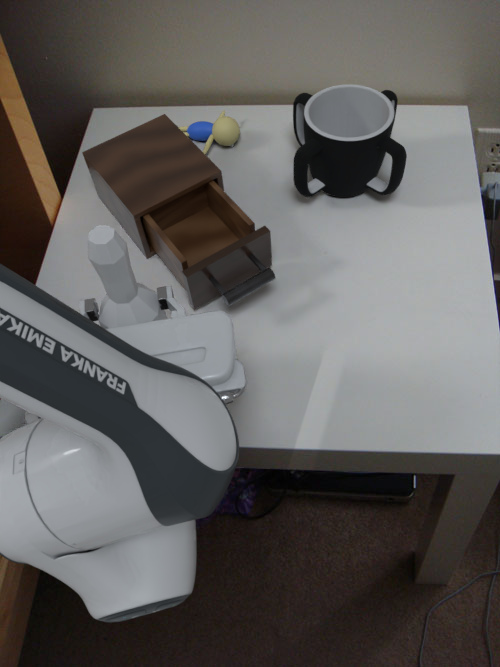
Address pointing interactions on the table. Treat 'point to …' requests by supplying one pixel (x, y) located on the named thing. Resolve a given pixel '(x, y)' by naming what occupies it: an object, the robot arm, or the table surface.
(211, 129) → the toy figure
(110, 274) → the faceted bottle
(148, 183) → the cabinet
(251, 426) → the table surface
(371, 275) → the table surface
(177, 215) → the drawer
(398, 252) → the table surface
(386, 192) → the mug
